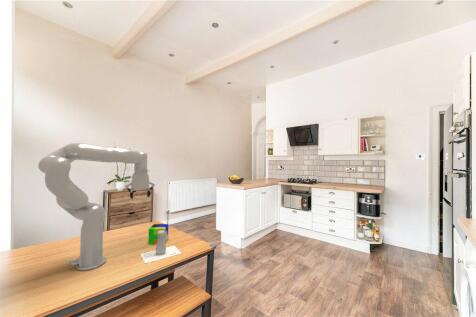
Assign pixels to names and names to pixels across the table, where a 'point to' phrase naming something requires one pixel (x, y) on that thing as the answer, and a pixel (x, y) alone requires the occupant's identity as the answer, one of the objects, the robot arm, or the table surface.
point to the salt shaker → (160, 243)
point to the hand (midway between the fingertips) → (140, 197)
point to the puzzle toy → (153, 232)
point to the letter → (154, 256)
